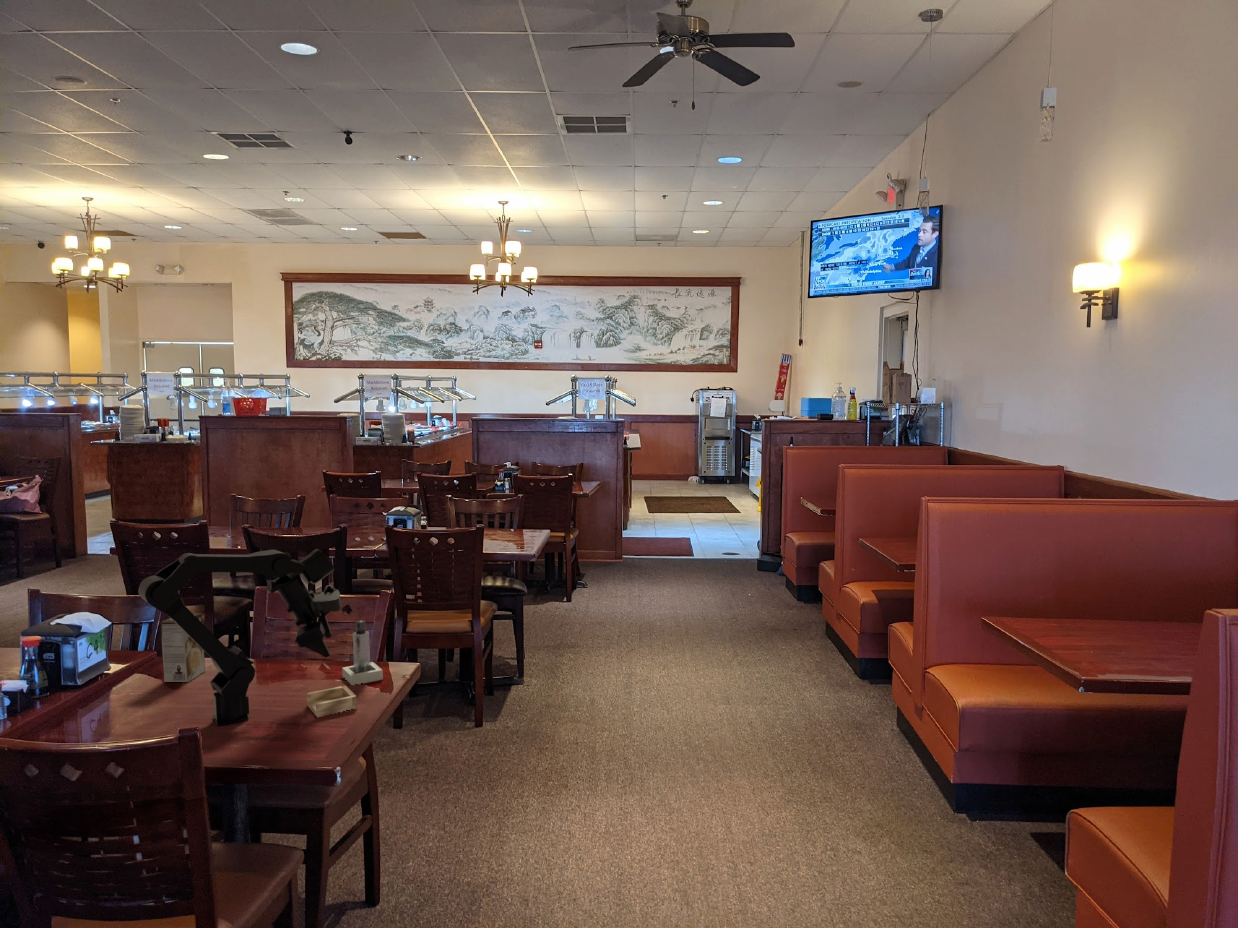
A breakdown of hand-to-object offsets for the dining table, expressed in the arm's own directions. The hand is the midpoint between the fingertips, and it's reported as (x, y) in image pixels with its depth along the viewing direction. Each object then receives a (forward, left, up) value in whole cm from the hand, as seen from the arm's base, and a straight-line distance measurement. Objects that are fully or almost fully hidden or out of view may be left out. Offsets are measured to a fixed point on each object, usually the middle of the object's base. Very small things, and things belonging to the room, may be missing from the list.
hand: (329, 646), depth 207 cm
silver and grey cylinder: (+10, +7, -12) cm, 17 cm away
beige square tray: (-2, -9, -12) cm, 15 cm away
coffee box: (-28, +35, -12) cm, 46 cm away
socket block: (+10, +7, -12) cm, 17 cm away
